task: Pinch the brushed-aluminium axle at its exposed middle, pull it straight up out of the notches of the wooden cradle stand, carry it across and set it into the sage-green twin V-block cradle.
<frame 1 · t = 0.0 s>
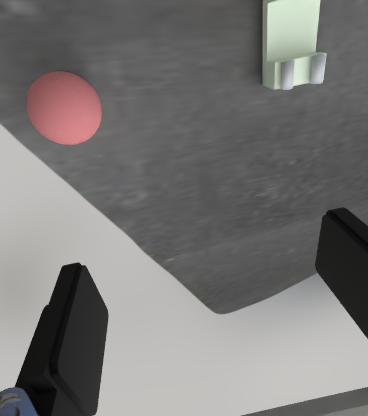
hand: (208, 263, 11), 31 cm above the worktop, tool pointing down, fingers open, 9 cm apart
light bulb: (81, 95, 35), on the worktop
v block: (287, 29, 34), on the worktop
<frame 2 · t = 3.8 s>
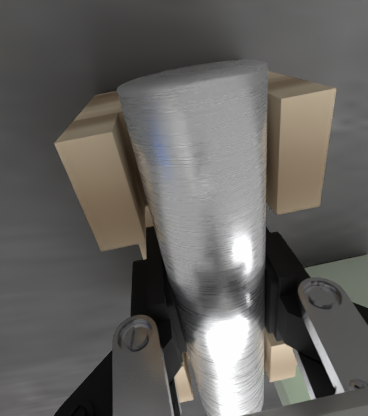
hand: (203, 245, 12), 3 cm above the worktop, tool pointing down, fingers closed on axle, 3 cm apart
wooden cradle stand: (193, 211, 14), on the worktop
axle: (219, 297, 9), point 5 cm above the worktop, touching wooden cradle stand, gripper
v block: (310, 320, 21), on the worktop
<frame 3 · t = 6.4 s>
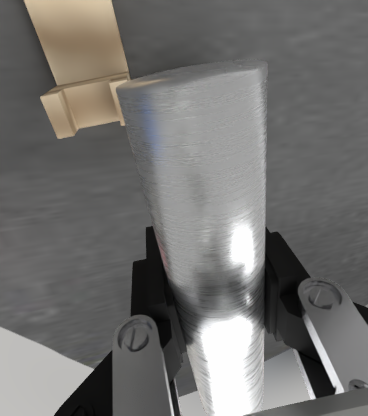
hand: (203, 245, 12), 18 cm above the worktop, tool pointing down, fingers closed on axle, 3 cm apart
wooden cradle stand: (80, 32, 21), on the worktop
axle: (218, 298, 9), point 21 cm above the worktop, touching gripper
when the fingers open (4 cm above the worktop, at t = 9.4 s): axle drops 1 cm, resting on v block.
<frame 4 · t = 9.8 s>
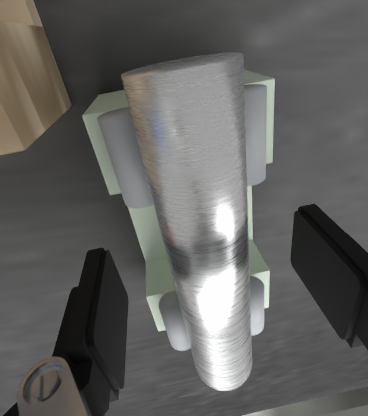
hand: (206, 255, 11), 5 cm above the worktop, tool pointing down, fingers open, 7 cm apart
axle: (209, 265, 10), point 6 cm above the worktop, touching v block
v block: (188, 194, 15), on the worktop
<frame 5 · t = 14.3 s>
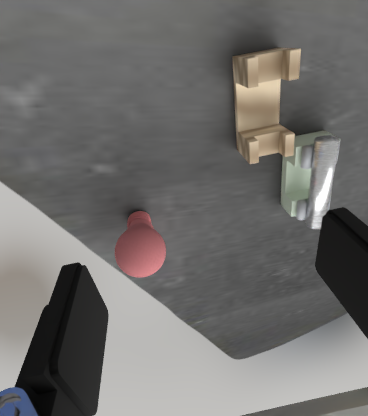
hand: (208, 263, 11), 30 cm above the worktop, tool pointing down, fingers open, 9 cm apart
light bulb: (140, 217, 45), on the worktop
wooden cradle stand: (255, 102, 38), on the worktop
axle: (320, 185, 39), point 6 cm above the worktop, touching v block
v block: (300, 169, 44), on the worktop
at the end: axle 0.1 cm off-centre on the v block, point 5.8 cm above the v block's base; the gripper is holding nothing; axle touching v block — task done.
